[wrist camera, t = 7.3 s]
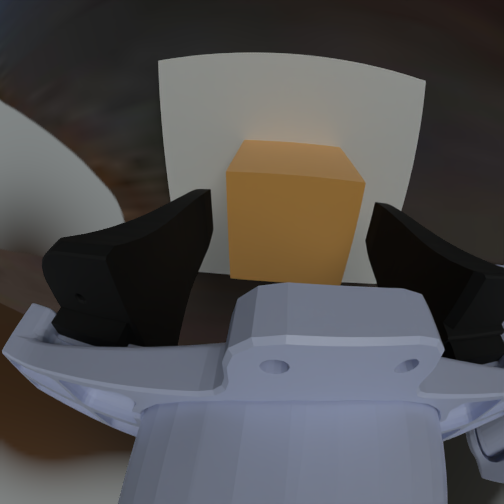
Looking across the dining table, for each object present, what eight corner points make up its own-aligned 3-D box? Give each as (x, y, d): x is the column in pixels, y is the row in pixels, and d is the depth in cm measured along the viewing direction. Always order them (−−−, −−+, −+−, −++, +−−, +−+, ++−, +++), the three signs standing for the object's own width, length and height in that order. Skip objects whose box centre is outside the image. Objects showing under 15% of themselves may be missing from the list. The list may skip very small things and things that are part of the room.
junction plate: (417, 80, 10) (457, 86, 7) (373, 274, 19) (386, 317, 16) (165, 61, 12) (127, 60, 8) (186, 261, 20) (168, 302, 17)
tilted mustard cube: (340, 147, 13) (365, 182, 9) (327, 228, 16) (340, 285, 12) (244, 139, 13) (226, 171, 9) (244, 221, 16) (230, 278, 12)
